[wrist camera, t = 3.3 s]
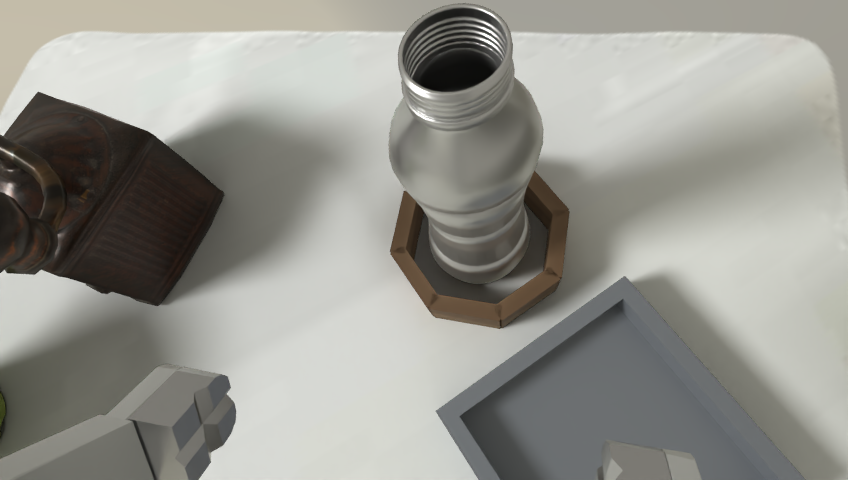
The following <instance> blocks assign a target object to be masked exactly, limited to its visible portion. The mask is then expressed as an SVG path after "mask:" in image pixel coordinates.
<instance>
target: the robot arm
mask: <svg viewBox="0 0 848 480" xmlns="http://www.w3.org/2000/svg"><path fill="white" fill-rule="evenodd" d="M230 388H231V387H230V383H229V380H228V377H227V376H225V375H222V374H217V373H212V372H207V371H202V370H197V369H192V368H187V367H180V366H175V365H170V364H163V365H160V366H158V367H156V368H155V369H154V370H153V371H152V372H151V373H150V374H149V375H148V376H147V377H146V378H145V379H144V380H143V381H142V382H140V383H139V384H138V385H137V386H136V387H135V388H134V389H133V390H132V391H131V392H130V393H129V394H128V395H127V396H126V397H125V398H123V399H122V400H121V401H120V402H119V403H118V404H117V405H116V406H115V407H114V408H113V409H112V410H111V411H110V412H109V413H108V414H106V415H97V416H95V417H93V418H90V419H88V420H86V421H84V422H81V423H79V424H77V425H75V426H72V427H70V428H68V429H66V430H64V431H61V432H59V433H57V434H55V435H52V436H50V437H48V438H46V439H43V440H41V441H39V442H37V443H35V444H32V445H30V446H28V447H26V448H23V449H21V450H19V451H17V452H14V453H12V454H10V455H8V456H5V457H3V458H1V459H0V480H198V479H199V478H200V477H201V475H202V474H203V473H204V471H205V470H206V468H207V467H208V466H209V464H210V463H211V452H212V451H214V450H216V449H218V448H219V447H221V446H223V445H224V443H225V442H226V440H227V439H228V437H229V436H230V434H231V432H232V429H233V426H234V424H235V420H236V408H235V404H234V402H233V401H232V400H231V398H230V397H229V396H228V395H227V393H228V391H229V390H230ZM601 457H602V466H601V467H599V468H598V469H597V472H596V476H595V480H702V478H701V476H700V473H699V470H698V467H697V464H696V461H695V458H694V457H693V456H692V455H691V454H690V453H686V452H680V451H673V450H667V449H659V448H656V447H650V446H644V445H637V444H631V443H625V442H619V441H612V440H605V442H604V444H603V447H602V451H601Z"/></svg>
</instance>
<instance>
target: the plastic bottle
mask: <svg viewBox="0 0 848 480" xmlns="http://www.w3.org/2000/svg"><path fill="white" fill-rule="evenodd" d="M512 50H513V43H512V38H511V33H510V30H509V29H508V26H507V24H506V23H505V22H504V20H503V19H502V18H501V17H500V16H499V15H498V14H496V13H495V12H494V11H492V10H490V9H487V8H486V7H483V6H479V5H475V4H466V3H463V4H452V5H447V6H443V7H440V8H437V9H434V10H432V11H430V12H428V13H427V14H425V15H423V16H422V17H421V18H419V19H418V20H417V21H415V22H414V23H413V24H412V26H411V27H410V28H409V29H408V30H407V32H406V33H405V35H404V36H403V38H402V41H401V43H400V46H399V52H398V65H399V71H400V75H401V78H402V82H401V83H402V93H403V96H404V97H403V99H402V100H401V102H400V103H399V105H398V107H397V108H396V110H395V113H394V116H393V118H392V121H391V127H390V133H389V144H388V146H389V159H390V162H391V165H392V169H393V171H394V173H395V174H396V176H397V178H398V180H399V181H400V183H401V184H402V186H403V187H404V189H405V190H406V191H407V192H408V193H409V194H410V195H411V196H412V198H413V199H414V200H415V201H416V202H417V203H418V204H419V205H420V206H421V207H422V209H423V210H424V212H425V214H426V216H427V217H428V221H429V229H428V233H429V245H430V249H431V252H432V255H433V257H434V259H435V260H436V262H437V263H438V265H439V266H440V267H441V268H442V269H443V270H444V271H446V272H447V273H448V274H450V275H451V276H453V277H454V278H457V279H459V280H461V281H463V282H468V283H474V284H482V283H489V282H493V281H495V280H498V279H500V278H502V277H504V276H505V275H507V274H508V273H509V272H511V271H512V270H513V269H514V268H515V267H516V266H517V264H518V263H519V262H520V261H521V259H522V258H523V257H524V255H525V253H526V251H527V249H528V245H529V241H530V225H529V219H528V215H527V212H526V210H525V207H524V202H523V200H524V195H525V191H526V188H527V186H528V183H529V181H530V179H531V177H532V175H533V172H534V170H535V168H536V166H537V163H538V159H539V156H540V152H541V148H542V145H543V125H542V119H541V116H540V113H539V111H538V109H537V106H536V104H535V102H534V100H533V98H532V95H531V94H530V92H529V91H528V90H527V89H526V87H525V86H524V85H523V84H522V83H521V82H520V81H518V80H517V79H516V78H515V77H514V70H515V69H514V64H513V60H512Z"/></svg>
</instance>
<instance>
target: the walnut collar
mask: <svg viewBox="0 0 848 480" xmlns="http://www.w3.org/2000/svg"><path fill="white" fill-rule="evenodd" d="M523 201H524V202H525V203H526V205H527V206H528V207H529V208H530V209H531V210H532V212H533V213H534V214H535V215H536V216H537V217H538V219H539V220H540V221H541V222H542V223H543V225H544V226H545V227H546V228H547V229H548V237H547V245H546V253H545V261H544V269H543V272H542V273H540V274H539V275H537V276H536V277H535V278H533V279H532V280H530V281H529V282H527V283H526V284H525V285H523V286H522V287H520V288H519V289H517V290H516V291H515V292H513V293H512V294H510V295H509V296H508V297H506V298H505V299H503V300H502V301H500V302H499V303H498V304H493V303H487V302H481V301H474V300H468V299H462V298H456V297H450V296H444V295H438V294H437V293H436V292H435V290H434V289H433V287H432V286H431V285H430V283H429V282H428V280H427V279H426V277H425V276H424V275H423V273H422V272H421V270H420V269H419V267H418V266H417V265H416V263H415V262H414V257H415V252H416V248H417V243H418V238H419V233H420V229H421V224H422V219H423V215H424V213H425V212H424V210H423V209H422V207H421V206H420V205H419V204H418V203H417V202H416V201H415V200H414V199H413V198H412V196H411V195H410V194H409V193H408V192H407V191H404V193H403V197H402V201H401V206H400V210H399V214H398V219H397V223H396V228H395V232H394V236H393V241H392V245H391V249H390V252H391V255H392V257H393V258H394V260H395V261H396V263H397V264H398V266H399V267H400V269H401V270H402V272H403V273H404V274H405V276H406V277H407V279H408V280H409V282H410V283H411V285H412V286H413V288H414V289H415V291H416V292H417V294H418V295H419V297H420V298H421V299H422V301H423V302H424V304H425V305H426V307H427V308H428V310H429V311H430V312H431V314H432V315H433V316H435V317H436V318H441V319H447V320H453V321H458V322H464V323H470V324H476V325H481V326H487V327H493V328H498V329H500V326H501V328H503V327H504V326H506V325H507V324H509V323H510V322H512V321H513V320H514V319H516V318H517V317H519V316H520V315H521V314H523V313H524V312H526V311H527V310H528V309H530V308H531V307H533V306H534V305H536V304H537V303H538V302H540V301H541V300H543V299H544V298H545V297H547V296H548V295H550V294H551V293H552V292H554V291H555V290H556V289H557V286H558V284H559V282H560V280H561V278H562V272H563V263H564V254H565V245H566V237H567V228H568V219H569V211H568V210H569V209H568V208H567V207H566V206H565V204H564V203H563V202H562V201H561V200H560V199H559V198H558V197H557V195H556V194H555V193H554V192H553V191H552V190H551V189H550V188H549V186H548V185H547V184H546V183H545V182H544V181H543V180H542V179H541V177H540V176H539V175H538V174H537V173H536V172H535V171H534V172H533V175H532V177H531V179H530V181H529V183H528V186H527V188H526V191H525V195H524V200H523Z"/></svg>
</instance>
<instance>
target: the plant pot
mask: <svg viewBox="0 0 848 480" xmlns="http://www.w3.org/2000/svg"><path fill="white" fill-rule="evenodd" d="M4 416H5V403H4V399H3V396H2V394H1V392H0V428H1V424H2V420H3V418H4ZM0 437H1V434H0Z"/></svg>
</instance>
